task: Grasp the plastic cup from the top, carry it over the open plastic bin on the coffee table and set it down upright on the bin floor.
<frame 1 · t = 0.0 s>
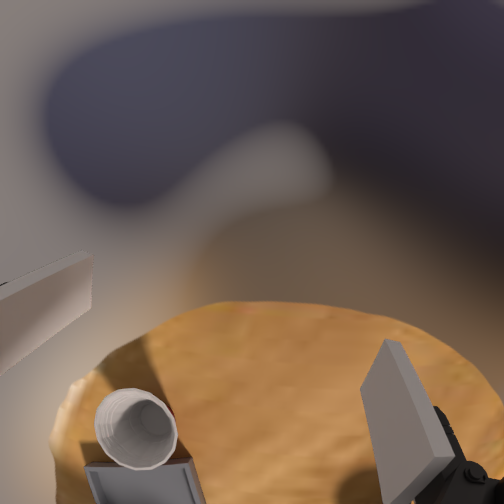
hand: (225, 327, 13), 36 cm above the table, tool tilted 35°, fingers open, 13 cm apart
plastic cup: (158, 417, 42), on the table
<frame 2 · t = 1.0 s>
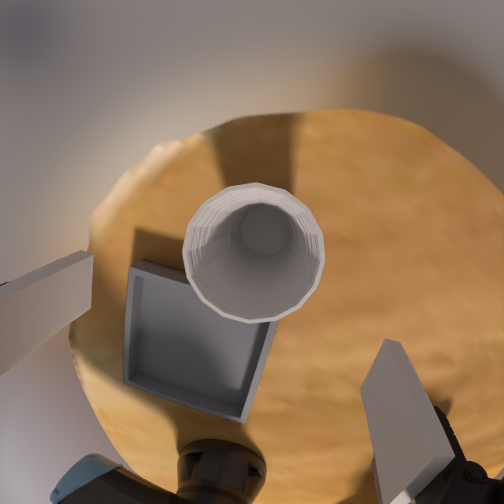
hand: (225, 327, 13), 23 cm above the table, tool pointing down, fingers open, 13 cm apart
plastic cup: (266, 229, 35), on the table
bin: (197, 340, 39), on the table
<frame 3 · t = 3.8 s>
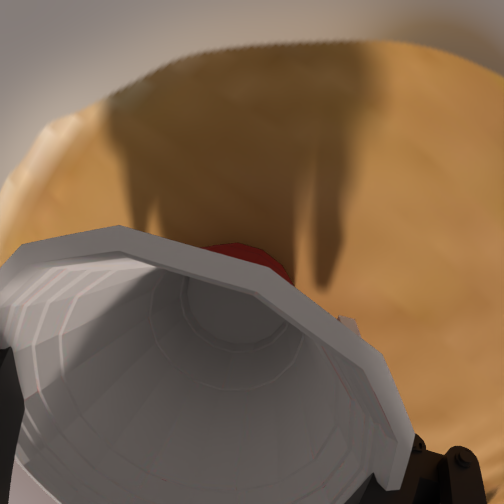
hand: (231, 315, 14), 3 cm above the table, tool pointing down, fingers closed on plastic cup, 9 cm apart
plastic cup: (241, 293, 16), on the table, touching gripper
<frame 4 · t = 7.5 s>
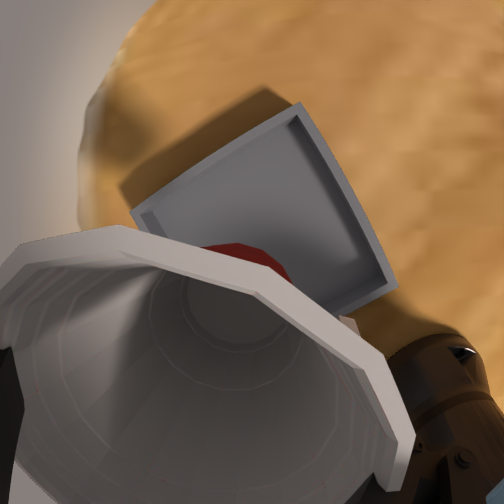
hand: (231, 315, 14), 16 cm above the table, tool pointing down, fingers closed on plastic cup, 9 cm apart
plastic cup: (241, 293, 16), point 14 cm above the table, touching gripper
bin: (266, 239, 30), on the table
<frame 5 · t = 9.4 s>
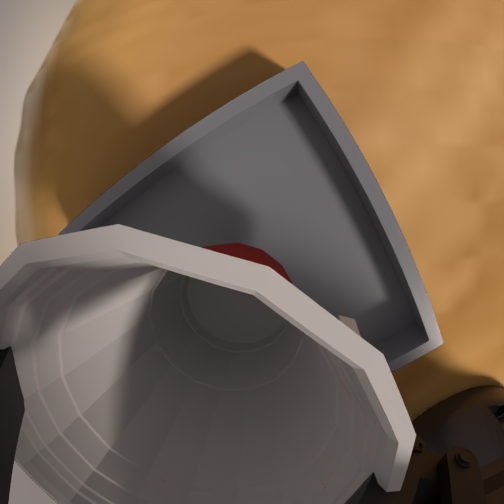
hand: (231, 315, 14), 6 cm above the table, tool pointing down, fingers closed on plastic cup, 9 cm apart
plastic cup: (241, 293, 16), point 4 cm above the table, touching gripper
bin: (252, 273, 20), on the table
when the fingers open (4 cm above the table, at t = 11.1 s): plastic cup stays where it is, resting on bin.
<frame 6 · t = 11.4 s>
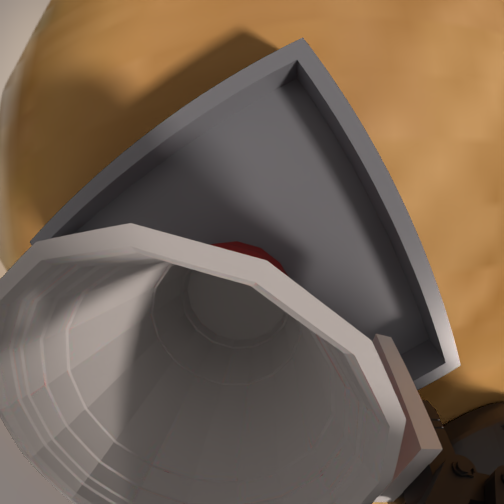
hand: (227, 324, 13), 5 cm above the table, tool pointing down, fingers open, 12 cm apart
plastic cup: (240, 290, 17), point 1 cm above the table, touching bin
bin: (244, 286, 17), on the table
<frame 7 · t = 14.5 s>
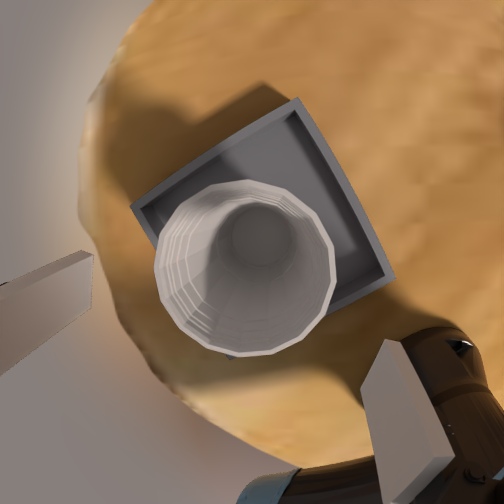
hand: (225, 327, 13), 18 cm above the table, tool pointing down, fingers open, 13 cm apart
plastic cup: (262, 234, 30), point 1 cm above the table, touching bin
bin: (264, 232, 30), on the table
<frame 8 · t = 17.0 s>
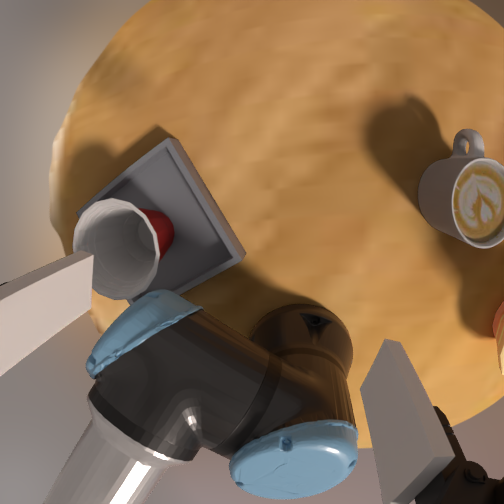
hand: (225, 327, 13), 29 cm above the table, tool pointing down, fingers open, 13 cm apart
coffee mug: (450, 183, 36), on the table
plastic cup: (157, 230, 42), point 1 cm above the table, touching bin
bin: (159, 229, 43), on the table
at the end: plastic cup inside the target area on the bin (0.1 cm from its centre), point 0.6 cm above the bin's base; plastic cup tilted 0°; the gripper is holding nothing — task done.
